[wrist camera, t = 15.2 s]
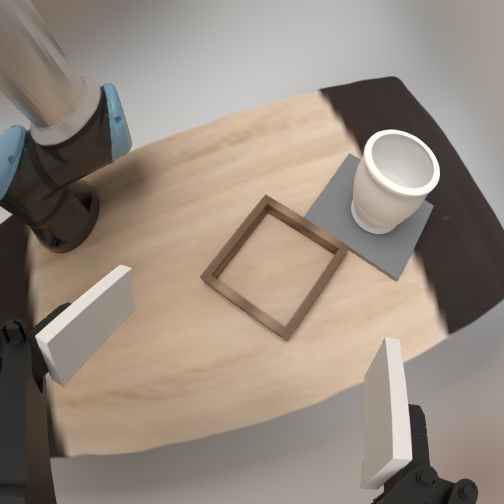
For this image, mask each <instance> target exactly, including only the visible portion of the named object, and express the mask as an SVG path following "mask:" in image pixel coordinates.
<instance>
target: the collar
mask: <svg viewBox="0 0 504 504" xmlns="http://www.w3.org/2000/svg"><path fill="white" fill-rule="evenodd" d="M267 213H270V214H271V215H273V216H275V217H276V218H278V219H279V220H281V221H283V222H284V223H286V224H287V225H289V226H291V227H292V228H294V229H295V230H297V231H299V232H300V233H302V234H303V235H305V236H307V237H308V238H310V239H311V240H313V241H314V242H316V243H317V244H319V245H321V246H322V247H324V248H325V249H327V250H328V251H330V252H331V253H333V254H335V256H334V257H333V259H332V260H331V262H330V263H329V265H328V266H327V268H326V269H325V271H324V272H323V274H322V275H321V277H320V278H319V280H318V281H317V283H316V284H315V286H314V287H313V289H312V290H311V292H310V293H309V294H308V296H307V297H306V299H305V300H304V302H303V303H302V305H301V306H300V307H299V309H298V310H297V312H296V313H295V315H294V316H293V317H292V319H291V320H290V322H289V323H288V324H287V326H286V327H283V326H282V325H281V324H279V323H278V322H276V321H275V320H273V319H272V318H271V317H269V316H268V315H266V314H265V313H263V312H262V311H261V310H259V309H258V308H256V307H255V306H253V305H252V304H251V303H249V302H248V301H246V300H245V299H244V298H242V297H241V296H239V295H238V294H237V293H235V292H234V291H232V290H231V289H230V288H228V287H227V286H225V285H224V284H223V283H221V282H220V281H219V280H217V277H218V276H219V275H220V273H221V272H222V271H223V270H224V268H225V267H226V266H227V264H228V263H229V262H230V261H231V259H232V258H233V257H234V255H235V254H236V253H237V251H238V250H239V249H240V248H241V246H242V245H243V244H244V242H245V241H246V240H247V239H248V237H249V236H250V235H251V233H252V232H253V231H254V230H255V228H256V227H257V226H258V224H259V223H260V222H261V221H262V219H263V218H264V217H265V216H266V214H267ZM348 249H349V246H348V245H346V244H345V243H343V242H342V241H340V240H338V239H337V238H335V237H334V236H332V235H331V234H329V233H328V232H326V231H324V230H323V229H321V228H320V227H318V226H316V225H315V224H313V223H312V222H310V221H308V220H307V219H305V218H304V217H302V216H300V215H299V214H297V213H295V212H294V211H292V210H290V209H289V208H287V207H286V206H284V205H282V204H281V203H279V202H277V201H276V200H274V199H272V198H271V197H269V196H267V195H266V194H265V196H264V197H263V198H262V199H261V201H260V202H259V203H258V204H257V206H256V207H255V208H254V209H253V211H252V212H251V213H250V214H249V216H248V217H247V218H246V219H245V221H244V222H243V223H242V224H241V226H240V227H239V228H238V229H237V231H236V232H235V233H234V234H233V236H232V237H231V238H230V239H229V241H228V242H227V243H226V244H225V246H224V247H223V248H222V250H221V251H220V252H219V253H218V255H217V256H216V257H215V258H214V260H213V261H212V262H211V264H210V265H209V266H208V267H207V269H206V270H205V271H204V273H203V274H202V275H201V276H200V278H201V279H202V280H203V281H204V282H205V283H206V284H208V285H209V286H210V287H212V288H213V289H214V290H216V291H217V292H218V293H220V294H221V295H223V296H224V297H225V298H227V299H228V300H229V301H231V302H232V303H234V304H235V305H236V306H238V307H239V308H240V309H242V310H243V311H245V312H246V313H247V314H249V315H250V316H252V317H253V318H254V319H256V320H257V321H259V322H260V323H261V324H263V325H264V326H266V327H267V328H269V329H270V330H271V331H273V332H274V333H276V334H277V335H279V336H280V337H281V338H283V339H284V340H286V341H287V340H288V339H289V337H290V336H291V334H292V333H293V331H294V330H295V329H296V327H297V326H298V324H299V323H300V322H301V320H302V319H303V317H304V316H305V314H306V313H307V311H308V310H309V309H310V307H311V306H312V304H313V303H314V301H315V300H316V298H317V297H318V295H319V294H320V292H321V291H322V289H323V288H324V286H325V285H326V283H327V282H328V280H329V279H330V277H331V276H332V274H333V273H334V271H335V270H336V268H337V267H338V265H339V263H340V262H341V260H342V259H343V257H344V256H345V254H346V252H347V251H348Z"/></svg>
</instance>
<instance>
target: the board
mask: <svg viewBox="0 0 504 504" xmlns="http://www.w3.org/2000/svg"><path fill="white" fill-rule="evenodd" d="M360 161H361V160H360V159H358V158H357V157H355V156H353V155H351V154H350V153H349V155H348V156H347V158H346V159H345V160H344V162H343V163H342V165H341V166H340V167H339V169H338V170H337V172H336V173H335V174H334V176H333V177H332V179H331V180H330V181H329V183H328V184H327V186H326V187H325V188H324V190H323V191H322V193H321V194H320V195H319V197H318V198H317V200H316V201H315V202H314V204H313V205H312V207H311V208H310V209H309V211H308V212H307V213H306V215H305V216H304V218H305V219H307V220H308V221H310V222H312V223H313V224H315V225H316V226H318V227H320V228H321V229H323V230H324V231H326V232H328V233H329V234H331V235H332V236H334V237H335V238H337V239H338V240H340V241H342V242H343V243H345V244H346V245H348V246H349V249H348V250H350V251H351V252H353V253H354V254H356V255H358V256H359V257H361V258H362V259H364V260H365V261H367V262H368V263H370V264H371V265H373V266H374V267H376V268H377V269H379V270H380V271H382V272H383V273H385V274H386V275H388V276H389V277H390V278H392V279H393V280H395V281H397V280H398V279H399V277H400V275H401V273H402V271H403V269H404V267H405V265H406V263H407V261H408V259H409V258H410V256H411V254H412V251H413V249H414V247H415V245H416V243H417V241H418V239H419V237H420V235H421V233H422V231H423V228H424V226H425V224H426V222H427V220H428V217H429V215H430V213H431V211H432V208H433V205H431V204H430V203H428V202H427V201H426V200H424V201H423V203H422V204H421V206H420V207H419V208H418V209H417V210H416V211H415V212H414V213H413V214H412V215H411V216H410V217H408V218H407V219H405V220H404V221H403V222H401V223H400V224H398V225H396V227H395V228H394V229H393V230H391V231H390V232H388V233H385V234H373V233H370V232H367V231H366V230H364V229H362V228H361V227H360V226H359V225H358V224H357V223H356V221H355V220H354V218H353V216H352V213H351V203H352V200H353V189H354V178H355V174H356V170H357V168H358V165H359V163H360Z"/></svg>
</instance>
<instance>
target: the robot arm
mask: <svg viewBox="0 0 504 504" xmlns="http://www.w3.org/2000/svg"><path fill="white" fill-rule="evenodd" d="M0 92H1V93H2V94H3V95H5V97H6V98H7V99H9V101H10V102H11V103H13V105H14V106H15V107H16V108H17V109H18V110H19V111H20V112H21V113H22V114H24V115H25V116H26V117H27V118H28V119H29V120H30V121H31V125H30V129H29V130H28V131H26V129H25V128H24V127H23V126H20V125H13V126H11V127H9V128H8V129H6V130H5V131H4V132H3V133H2V134H1V135H0V206H1V207H3V208H4V209H6V210H7V211H8V212H10V213H11V214H13V215H14V216H16V217H17V218H19V219H20V220H22V221H23V222H25V223H26V224H28V225H29V226H30V227H31V229H32V231H33V232H34V234H35V235H36V237H37V238H38V240H39V241H40V243H41V244H42V245H43V246H45V247H46V248H48V249H49V250H51V251H53V252H57V253H63V252H67V251H70V250H72V249H74V248H76V247H77V246H78V245H80V244H81V243H82V242H83V241H84V240H85V239H86V238H87V236H88V235H89V234H90V232H91V230H92V229H93V227H94V225H95V222H96V220H97V216H98V211H99V201H98V197H97V194H96V192H95V191H94V190H93V189H92V187H91V186H90V185H89V184H88V183H86V182H85V181H83V180H80V179H81V178H83V177H85V176H87V175H89V174H91V173H93V172H94V171H96V170H98V169H100V168H103V167H105V166H107V165H109V164H112V163H114V161H115V160H117V159H119V158H120V157H122V156H124V155H126V154H127V153H128V152H129V151H130V149H131V146H132V141H131V137H130V133H129V129H128V125H127V122H126V118H125V115H124V112H123V108H122V105H121V102H120V99H119V96H118V93H117V90H116V88H115V86H114V85H113V84H111V83H109V84H104V85H102V87H100V86H99V84H98V82H97V81H96V80H95V79H93V78H92V77H89V76H79V75H78V73H77V72H76V71H75V69H74V67H73V66H72V64H71V63H70V61H69V60H68V58H67V57H66V55H65V54H64V52H63V51H62V49H61V48H60V46H59V45H58V43H57V42H56V40H55V38H54V37H53V35H52V34H51V32H50V31H49V29H48V28H47V26H46V24H45V23H44V21H43V20H42V18H41V17H40V15H39V13H38V12H37V10H36V9H35V7H34V5H33V4H32V2H31V0H0ZM134 310H135V308H134V296H133V281H132V268H130V267H126V266H123V265H119V266H118V267H116V268H115V269H114V270H113V271H111V272H110V273H109V274H108V275H106V276H105V277H104V278H103V279H101V280H100V281H99V282H98V283H97V284H95V285H94V286H93V287H92V288H90V289H89V290H88V291H87V292H86V293H84V294H83V295H82V296H81V297H80V298H78V299H77V300H76V301H75V302H74V303H72V304H71V303H69V302H68V303H65V304H63V305H61V306H59V307H57V308H56V309H55V310H54V311H53V312H52V313H50V314H49V315H48V316H47V317H46V318H44V319H43V320H42V321H41V322H40V323H39V324H37V325H36V326H35V327H34V328H33V329H32V330H30V331H29V332H27V329H26V326H25V324H24V322H23V321H22V320H19V319H11V320H8V321H6V322H5V323H4V324H3V325H2V326H1V328H0V331H1V334H2V336H1V335H0V504H57V503H56V497H55V491H54V486H53V479H52V472H51V463H50V455H49V444H48V431H47V412H46V378H45V374H46V373H47V372H48V371H49V374H50V376H51V378H52V380H54V381H55V382H57V383H58V384H60V385H61V386H63V387H64V386H65V385H66V383H67V382H68V381H69V380H70V379H71V378H72V377H73V376H74V374H75V373H76V372H77V371H78V370H79V369H80V368H81V367H82V366H83V365H84V363H85V362H86V361H87V360H88V359H89V358H90V357H91V356H92V355H93V354H94V352H95V351H96V350H97V349H98V348H99V347H100V346H101V345H102V344H103V343H104V342H105V340H106V339H107V338H108V337H109V336H110V335H111V334H112V333H113V332H114V331H115V330H116V329H117V328H118V327H119V326H120V324H121V323H122V322H123V321H124V320H125V319H126V318H127V317H128V316H129V315H130V314H131V313H132V312H133V311H134ZM426 434H427V430H426V421H425V415H424V413H423V411H422V409H421V407H420V406H419V405H411V404H408V399H407V391H406V382H405V376H404V368H403V361H402V354H401V348H400V342H399V340H397V339H392V338H388V337H385V338H384V340H383V342H382V344H381V346H380V348H379V350H378V352H377V354H376V356H375V358H374V359H373V361H372V363H371V365H370V367H369V369H368V371H367V372H366V374H365V416H364V444H363V460H362V473H361V485H360V488H366V489H379V488H380V487H381V486H382V485H384V492H383V493H382V494H381V495H379V496H378V497H377V498H376V499H374V500H373V501H374V502H373V503H371V504H476V500H477V497H478V489H477V486H476V485H475V483H474V482H473V481H471V480H469V479H461V480H459V481H458V482H457V483H452V482H450V481H447V480H444V479H441V478H439V477H438V475H437V472H436V471H435V469H433V467H431V466H430V461H429V449H428V439H427V435H426Z"/></svg>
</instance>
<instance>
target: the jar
mask: <svg viewBox="0 0 504 504" xmlns="http://www.w3.org/2000/svg"><path fill="white" fill-rule="evenodd" d="M439 175H440V171H439V165H438V162H437V159H436V157H435V156H434V154H433V152H432V151H431V150H430V149H429V147H428V146H427V145H426V144H425V143H423V142H422V141H421V140H419V139H418V138H416V137H415V136H413V135H411V134H409V133H406V132H403V131H398V130H384V131H380V132H378V133H376V134H374V135H373V136H372V137H371V138H370V139H369V140H368V142H367V144H366V146H365V149H364V156H363V158H362V159H361V161H360V163H359V165H358V168H357V170H356V174H355V178H354V189H353V200H352V203H351V213H352V216H353V218H354V220H355V221H356V223H357V224H358V225H359V226H360V227H361V228H362V229H364V230H366V231H367V232H370V233H373V234H385V233H388V232H390V231H391V230H393V229H394V228H395V227H396V225H398V224H400V223H401V222H403V221H404V220H405V219H407V218H408V217H410V216H411V215H412V214H413V213H414V212H415V211H416V210H417V209H418V208H419V207H420V206H421V204H422V203H423V201H424V199H425V197H426V195H427V194H428V193H429V192H431V191H432V190H433V188H434V187H435V186H436V184H437V183H438V180H439Z"/></svg>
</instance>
